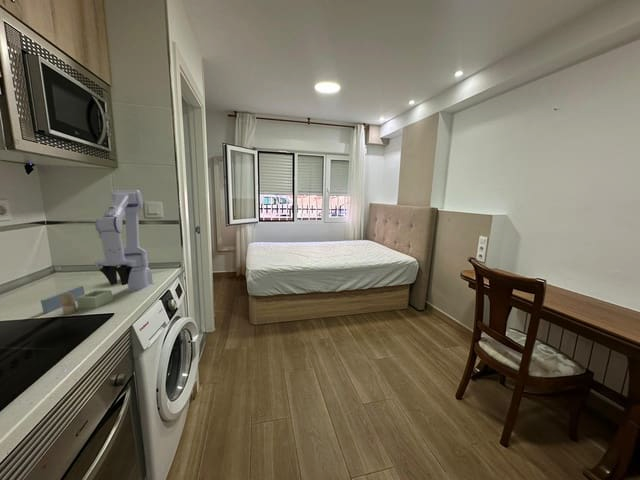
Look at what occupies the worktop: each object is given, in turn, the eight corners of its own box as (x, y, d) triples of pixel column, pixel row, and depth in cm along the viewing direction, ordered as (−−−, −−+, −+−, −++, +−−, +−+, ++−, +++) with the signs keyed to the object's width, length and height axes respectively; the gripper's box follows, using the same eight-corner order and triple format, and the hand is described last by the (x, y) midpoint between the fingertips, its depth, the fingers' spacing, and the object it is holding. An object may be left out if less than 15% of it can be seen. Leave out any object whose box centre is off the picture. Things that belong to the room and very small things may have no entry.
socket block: (96, 299, 102) (94, 290, 102) (113, 299, 102) (111, 290, 101) (78, 307, 95) (76, 297, 95) (96, 307, 95) (94, 297, 94)
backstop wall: (81, 297, 105) (79, 285, 104) (85, 297, 105) (83, 285, 104) (43, 313, 92) (40, 300, 91) (47, 313, 92) (44, 300, 91)
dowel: (70, 310, 93) (66, 292, 92) (79, 310, 93) (75, 292, 92) (61, 315, 90) (56, 296, 89) (70, 315, 90) (65, 296, 88)
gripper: (84, 252, 90) (91, 288, 93) (123, 251, 90) (129, 288, 92) (102, 247, 97) (108, 281, 100) (138, 247, 96) (143, 281, 99)
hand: (119, 284), depth 96 cm, fingers open, 4 cm apart
